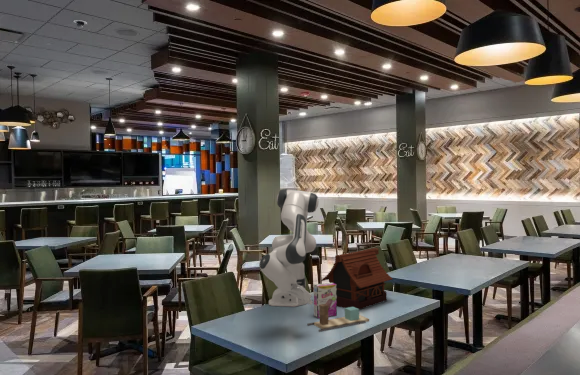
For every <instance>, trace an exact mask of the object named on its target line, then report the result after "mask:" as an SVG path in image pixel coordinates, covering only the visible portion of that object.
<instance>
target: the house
mask: <svg viewBox="0 0 580 375" xmlns="http://www.w3.org/2000/svg"><path fill="white" fill-rule="evenodd" d="M379 250H380V249H379V248H377V247H374V248H373V247H372V248H367V249H363V250H358V251H352V252H348V253H341V254H335V257H334V263H333V266H332V267H331V269H330V271H329V272H328V273H327V274H326V275H325V276H324V277H323V278H322V279H320V281H321V282H323V281H327V280H328V283H334V284H336V285H337V308H342V309H345V308H348V307H355V308H358V309H359V310H362V309H365V308H368V307H371V306H374V305H378V304H380V302H381V303H383V301H384V302H386V301H387V295H388V294H387V291H386V290H385V285H386V284H387V283H386V282H388V281H392V280H393V278H392V277H391V275H389V273H387V271H386V270H385V269H384V268H383V266H382V264H381V263H380V261H379V258H378V257H377V255H379V253H380V252H379Z"/></svg>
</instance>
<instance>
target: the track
mask: <svg viewBox="0 0 580 375" xmlns="http://www.w3.org/2000/svg"><path fill="white" fill-rule="evenodd" d="M334 319H336V318H334ZM314 322H315V321H314ZM314 322H309V323H307V325H306V326H308V327H309V326H313V325H314ZM362 324H367V322H366V321H361V322H356V323H351V324H346V325H340V326H335V327H330V328H325V329H321V328H319V329H318V332H319V333H320V332H326V331H330V330H337V329H342V328H346V327H353V326H357V325H362ZM314 326H315V325H314Z"/></svg>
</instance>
